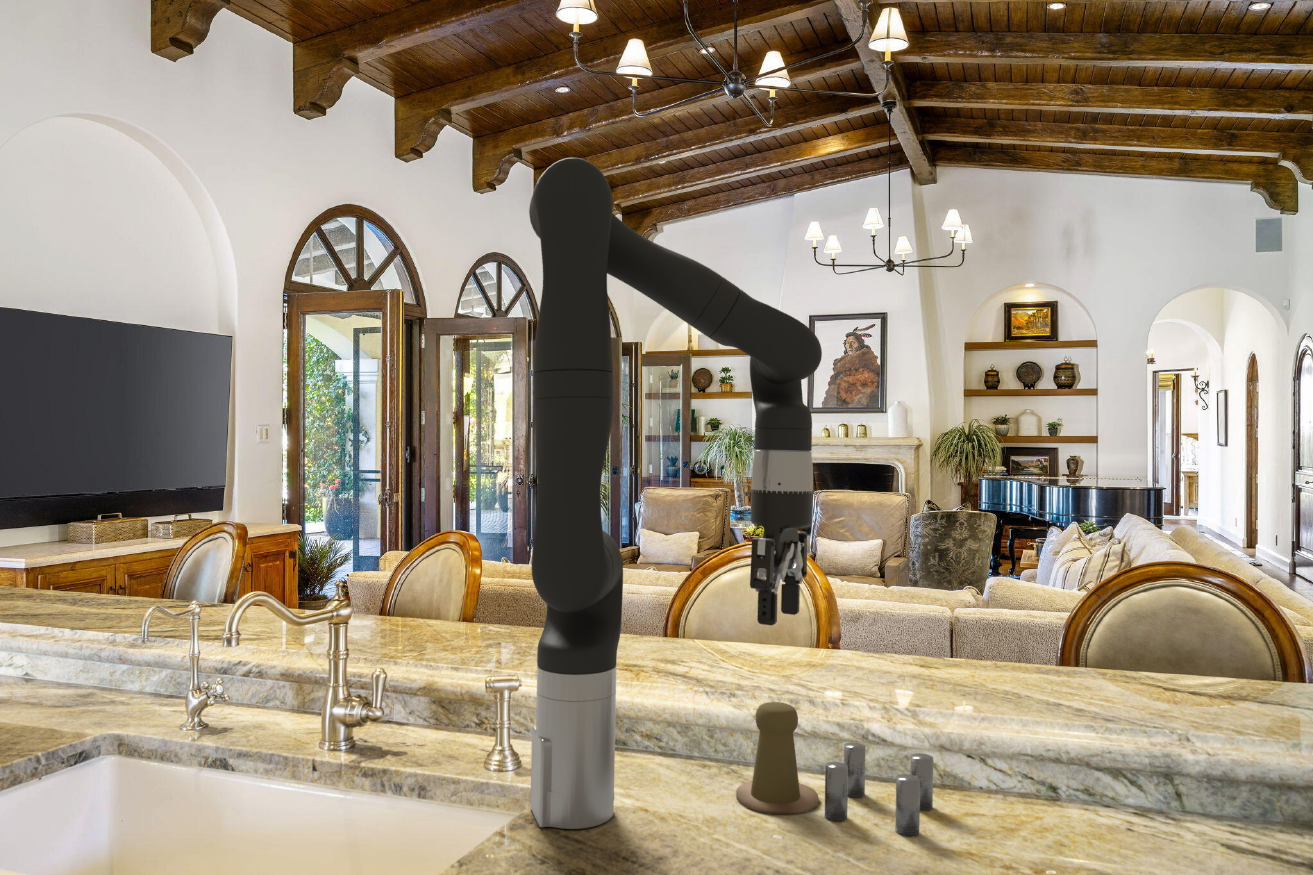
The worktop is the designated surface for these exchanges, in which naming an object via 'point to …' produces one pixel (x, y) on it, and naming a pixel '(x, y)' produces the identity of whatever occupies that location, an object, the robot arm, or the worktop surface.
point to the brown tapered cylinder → (776, 755)
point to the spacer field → (850, 782)
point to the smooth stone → (800, 806)
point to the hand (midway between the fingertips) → (779, 618)
